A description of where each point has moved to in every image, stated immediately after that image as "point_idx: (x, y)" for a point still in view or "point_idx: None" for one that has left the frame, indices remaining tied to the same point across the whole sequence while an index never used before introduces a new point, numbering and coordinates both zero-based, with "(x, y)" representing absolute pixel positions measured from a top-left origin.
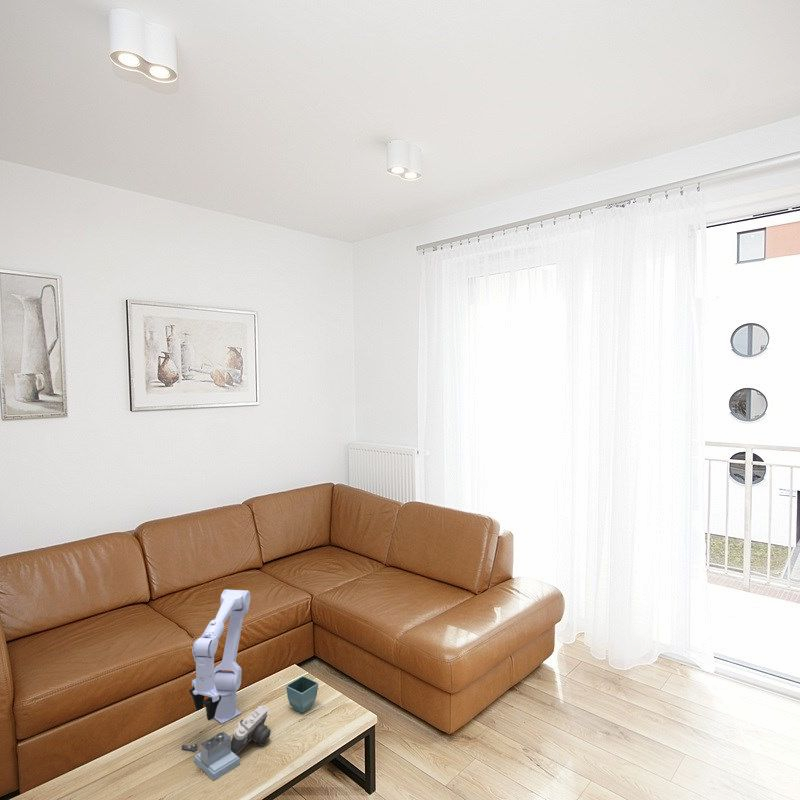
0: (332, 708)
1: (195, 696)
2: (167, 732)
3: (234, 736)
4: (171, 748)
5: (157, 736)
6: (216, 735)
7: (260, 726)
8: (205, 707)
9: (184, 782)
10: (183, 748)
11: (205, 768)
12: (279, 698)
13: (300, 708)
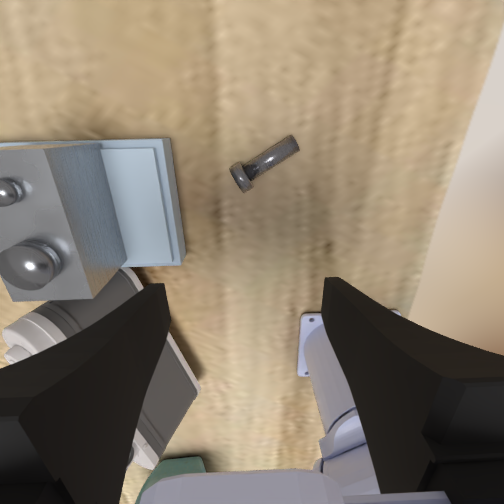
0: (130, 497)
1: (390, 362)
2: (455, 144)
3: (34, 315)
4: (338, 103)
5: (478, 93)
6: (32, 254)
7: None
8: (99, 346)
9: (55, 28)
10: (283, 140)
11: (54, 141)
12: (270, 453)
13: (151, 478)
